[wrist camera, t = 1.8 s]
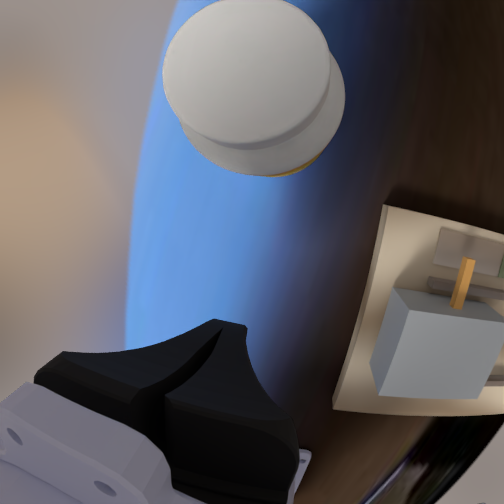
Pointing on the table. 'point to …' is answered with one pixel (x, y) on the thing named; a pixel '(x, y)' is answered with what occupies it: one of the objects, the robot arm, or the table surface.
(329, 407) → the table surface
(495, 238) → the gauge board
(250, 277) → the table surface
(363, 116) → the table surface
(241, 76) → the supplement bottle
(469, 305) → the block
